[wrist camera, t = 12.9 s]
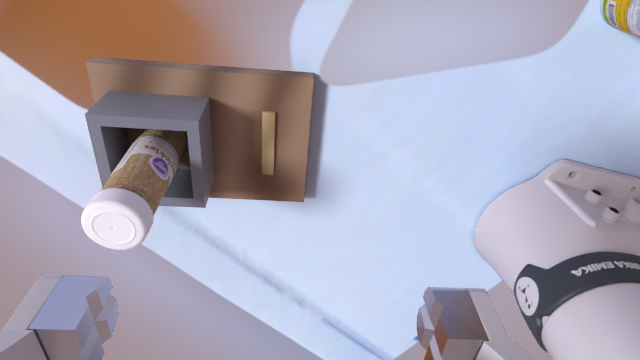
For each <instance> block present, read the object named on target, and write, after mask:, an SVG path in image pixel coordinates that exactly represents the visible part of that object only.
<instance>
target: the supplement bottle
mask: <svg viewBox="0 0 640 360" xmlns="http://www.w3.org/2000/svg"><path fill="white" fill-rule="evenodd" d="M600 11H601V15H602V17H603V19H604V21H605V22H606V23H607V24H609V25H610V26H612V27H615V28H617V29H619V30H622V31H624V32H627V33H629V34H632V35H634V36H637V37H639V38H640V0H601V4H600Z"/></svg>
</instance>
